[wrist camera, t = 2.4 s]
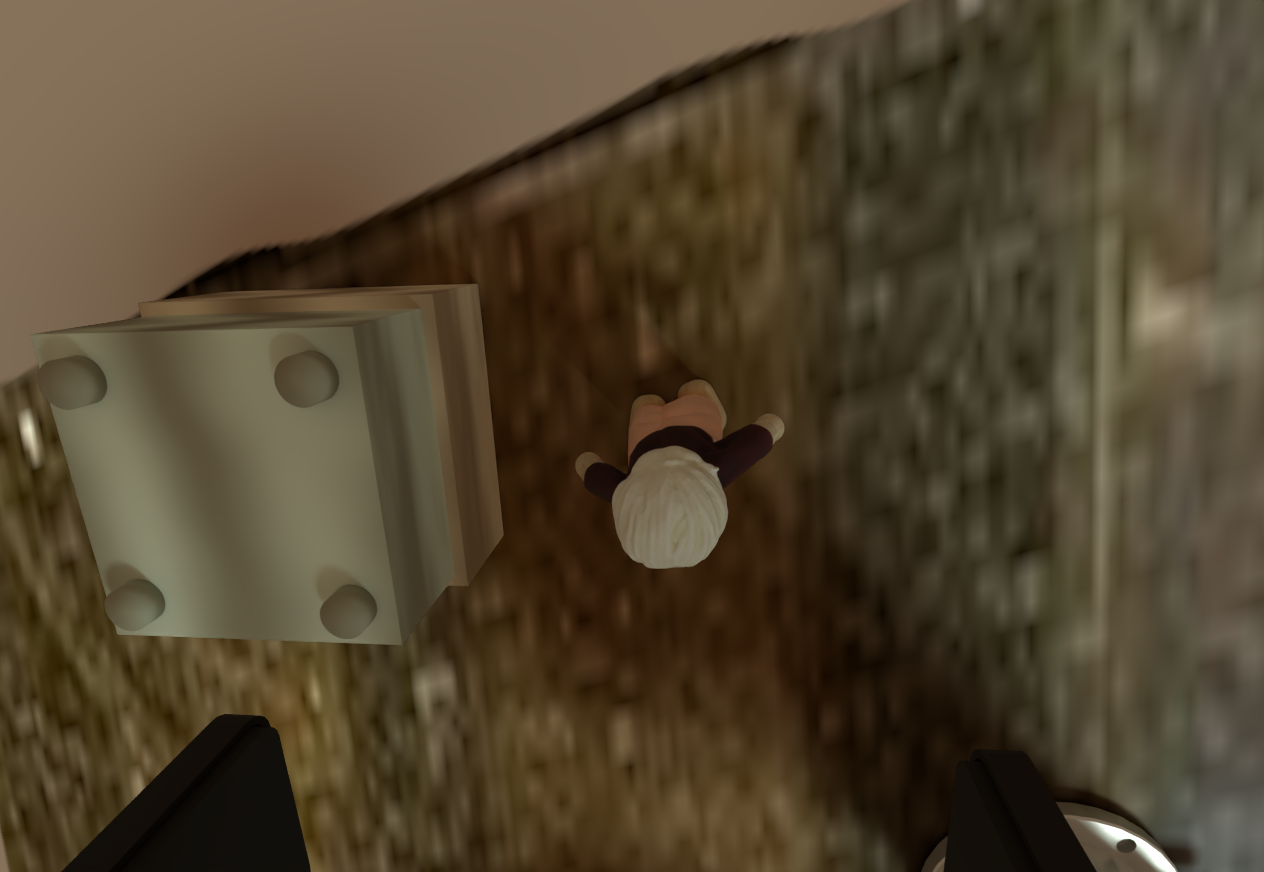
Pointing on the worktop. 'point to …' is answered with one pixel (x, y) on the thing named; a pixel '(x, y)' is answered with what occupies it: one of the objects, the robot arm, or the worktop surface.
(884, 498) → the worktop surface
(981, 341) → the worktop surface
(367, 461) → the grey studded block
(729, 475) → the grandmother figurine
